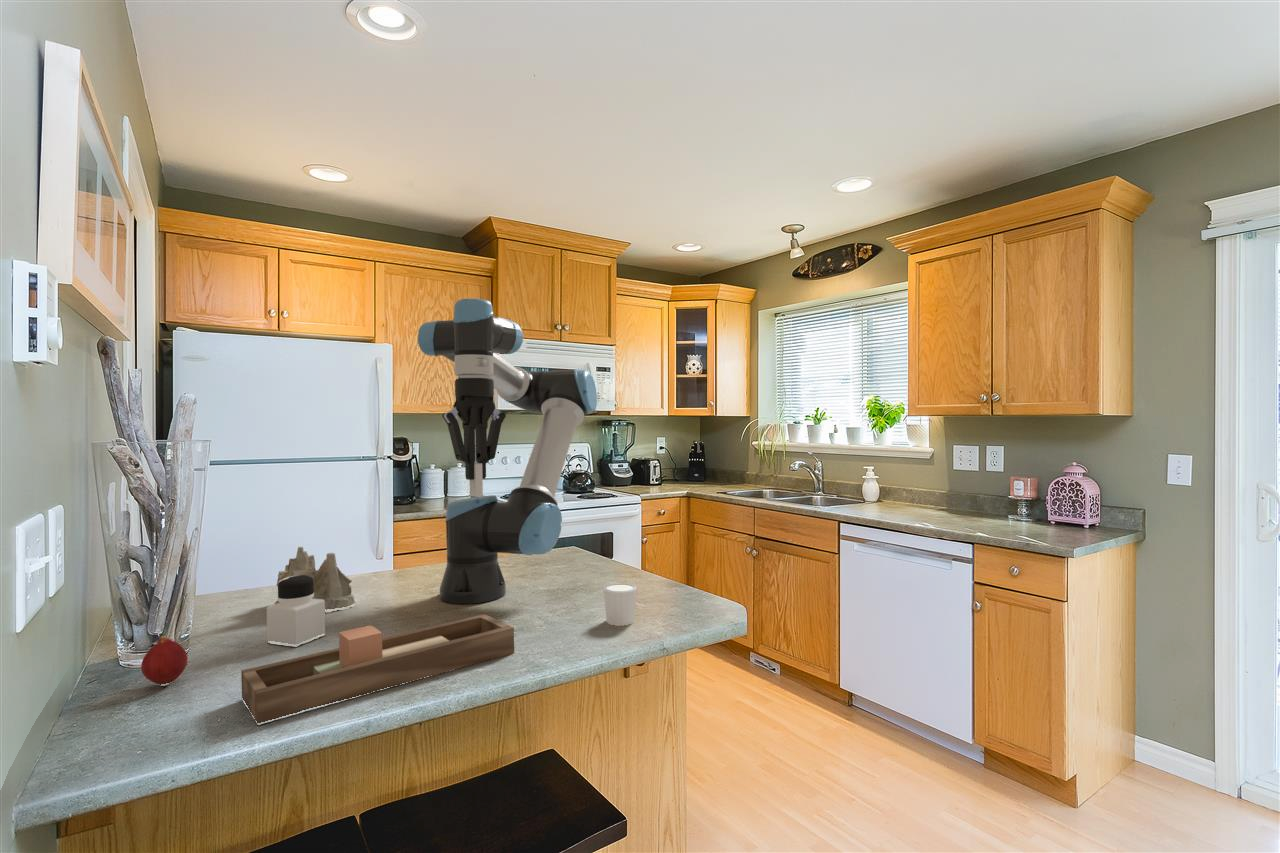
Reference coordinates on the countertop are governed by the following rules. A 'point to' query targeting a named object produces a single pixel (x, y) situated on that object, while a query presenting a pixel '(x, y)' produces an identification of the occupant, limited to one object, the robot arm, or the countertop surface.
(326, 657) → the brown wooden long tray
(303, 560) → the rock mountain model
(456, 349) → the robot arm
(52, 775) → the countertop surface
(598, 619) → the countertop surface
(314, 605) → the medicine bottle
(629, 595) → the white cup
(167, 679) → the onion
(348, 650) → the block
